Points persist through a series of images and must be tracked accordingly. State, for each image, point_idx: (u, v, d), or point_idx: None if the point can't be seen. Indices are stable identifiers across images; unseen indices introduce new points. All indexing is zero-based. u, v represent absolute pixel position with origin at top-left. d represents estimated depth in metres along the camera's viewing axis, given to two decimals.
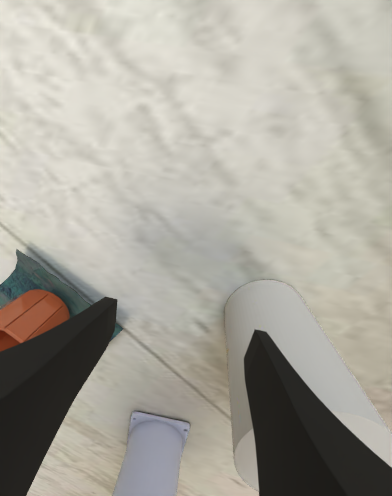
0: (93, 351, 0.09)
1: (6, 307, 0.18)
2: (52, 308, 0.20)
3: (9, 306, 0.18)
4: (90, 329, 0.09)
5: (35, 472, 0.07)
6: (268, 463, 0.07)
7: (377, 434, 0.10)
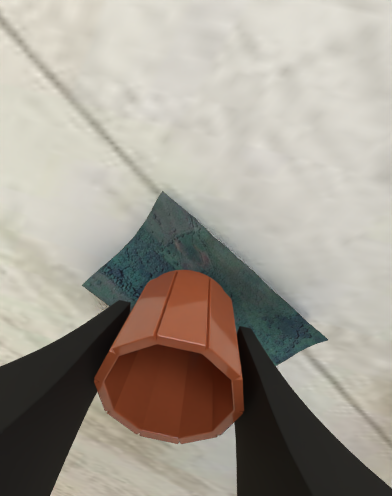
0: None
1: (169, 300, 0.09)
2: (227, 303, 0.11)
3: (172, 298, 0.09)
4: (107, 333, 0.09)
5: (56, 477, 0.07)
6: (245, 458, 0.07)
7: None
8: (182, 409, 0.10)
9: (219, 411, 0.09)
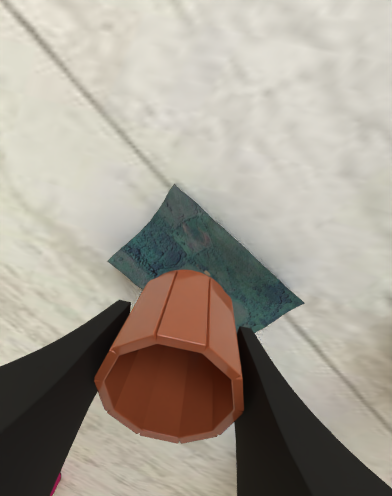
0: None
1: (169, 300, 0.09)
2: (227, 303, 0.11)
3: (173, 298, 0.09)
4: (107, 333, 0.09)
5: (57, 476, 0.07)
6: (245, 458, 0.07)
7: None
8: (182, 408, 0.10)
9: (219, 411, 0.09)
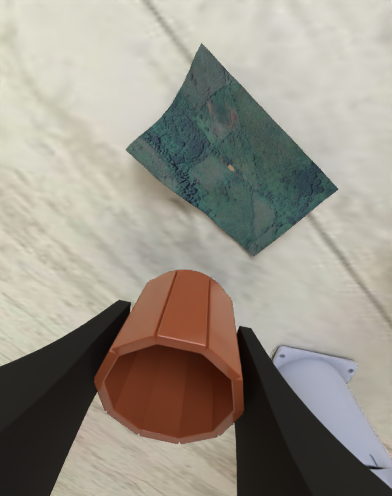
0: None
1: (169, 300, 0.09)
2: (227, 303, 0.11)
3: (172, 298, 0.09)
4: (107, 333, 0.09)
5: (56, 477, 0.07)
6: (245, 458, 0.07)
7: None
8: (182, 409, 0.10)
9: (219, 411, 0.09)
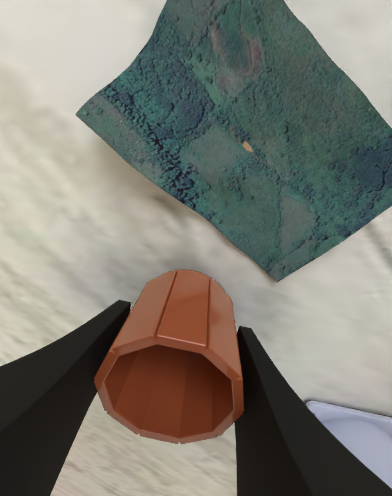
0: None
1: (169, 300, 0.09)
2: (227, 303, 0.11)
3: (172, 298, 0.09)
4: (107, 333, 0.09)
5: (56, 477, 0.07)
6: (245, 458, 0.07)
7: None
8: (182, 409, 0.10)
9: (219, 411, 0.09)
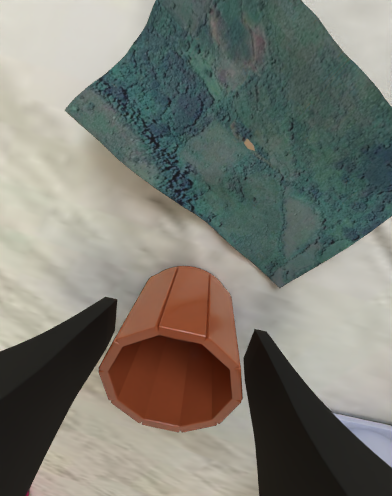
0: (93, 351, 0.09)
1: (170, 294, 0.09)
2: (226, 298, 0.11)
3: (174, 293, 0.09)
4: (90, 329, 0.09)
5: (35, 472, 0.07)
6: (268, 463, 0.07)
7: None
8: (183, 399, 0.10)
9: (218, 401, 0.09)
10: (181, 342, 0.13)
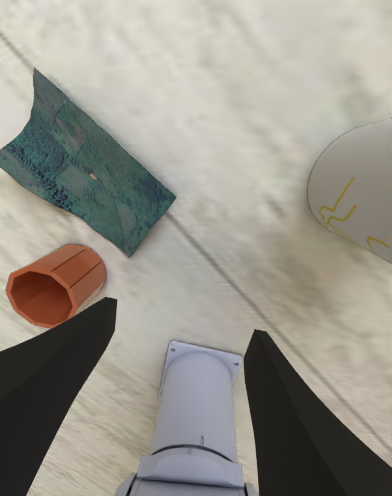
0: (93, 351, 0.09)
1: (48, 255, 0.17)
2: (92, 262, 0.19)
3: (51, 255, 0.18)
4: (90, 329, 0.09)
5: (35, 472, 0.07)
6: (268, 463, 0.07)
7: None
8: (61, 316, 0.18)
9: None
10: None
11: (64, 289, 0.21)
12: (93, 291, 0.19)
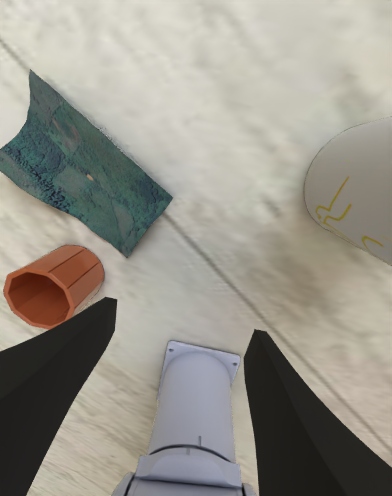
0: (93, 351, 0.09)
1: (45, 256, 0.17)
2: (89, 262, 0.19)
3: (48, 256, 0.18)
4: (90, 329, 0.09)
5: (35, 472, 0.07)
6: (268, 463, 0.07)
7: None
8: (59, 316, 0.18)
9: None
10: None
11: (62, 290, 0.21)
12: (91, 292, 0.19)
